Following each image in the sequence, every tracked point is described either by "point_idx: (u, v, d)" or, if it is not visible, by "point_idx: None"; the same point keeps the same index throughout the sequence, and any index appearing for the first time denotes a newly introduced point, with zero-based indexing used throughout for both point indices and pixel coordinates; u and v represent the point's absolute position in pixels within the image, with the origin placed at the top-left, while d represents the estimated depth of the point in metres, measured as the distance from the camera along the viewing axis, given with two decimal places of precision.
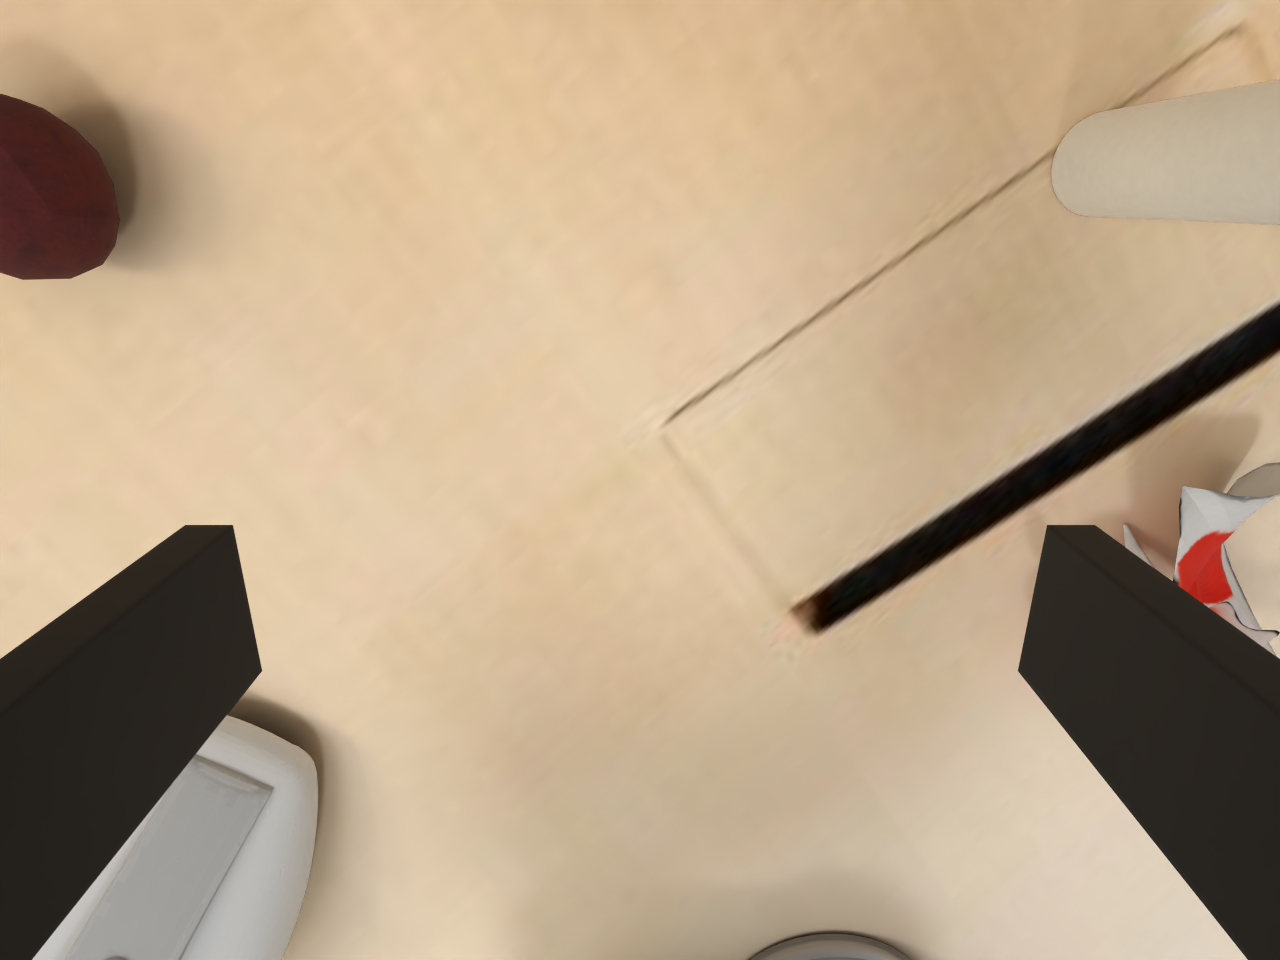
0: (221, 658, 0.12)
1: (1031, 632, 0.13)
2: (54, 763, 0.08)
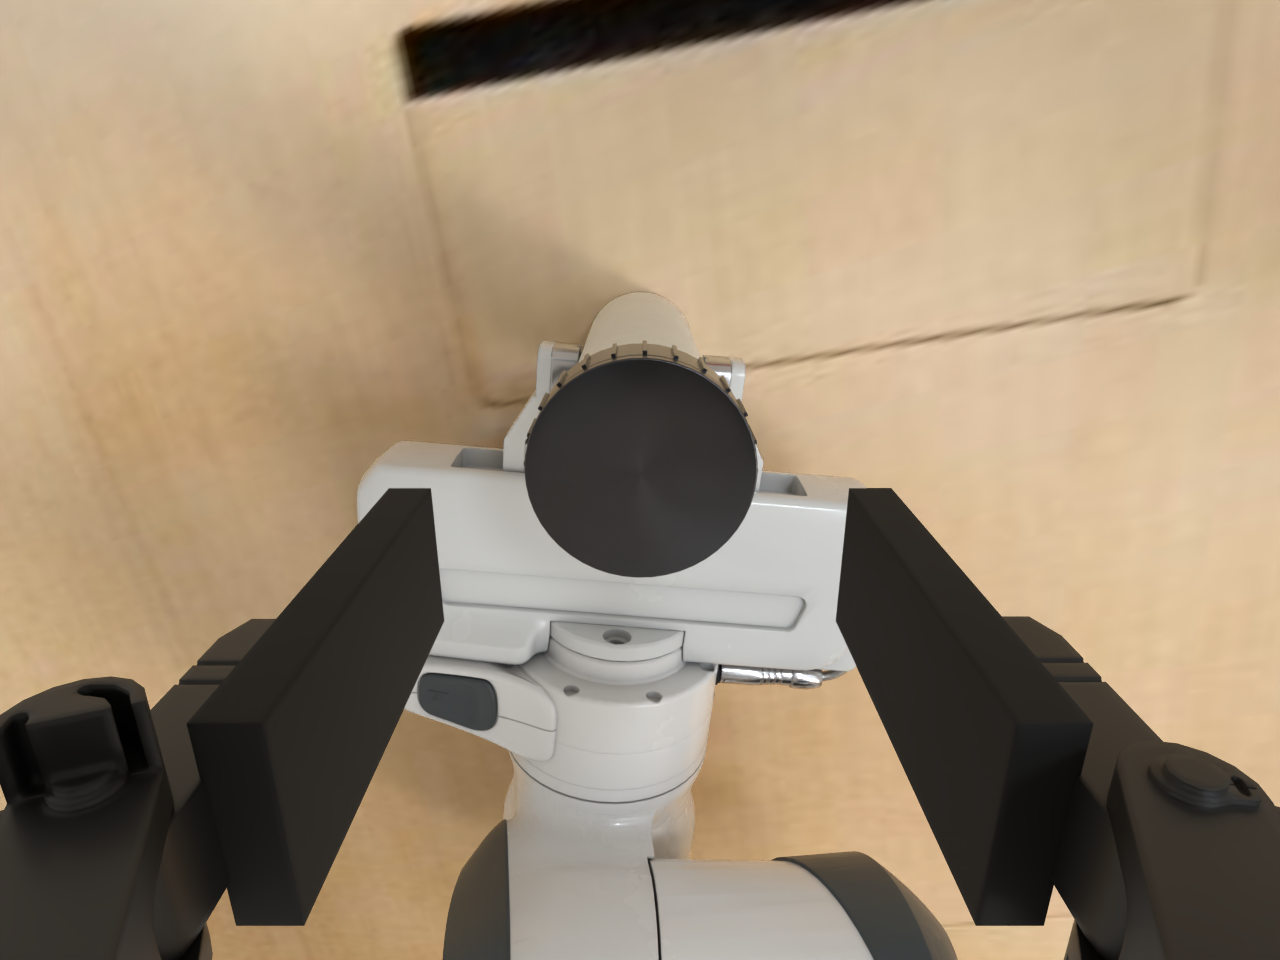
0: (425, 605, 0.13)
1: (841, 585, 0.14)
2: (353, 675, 0.10)
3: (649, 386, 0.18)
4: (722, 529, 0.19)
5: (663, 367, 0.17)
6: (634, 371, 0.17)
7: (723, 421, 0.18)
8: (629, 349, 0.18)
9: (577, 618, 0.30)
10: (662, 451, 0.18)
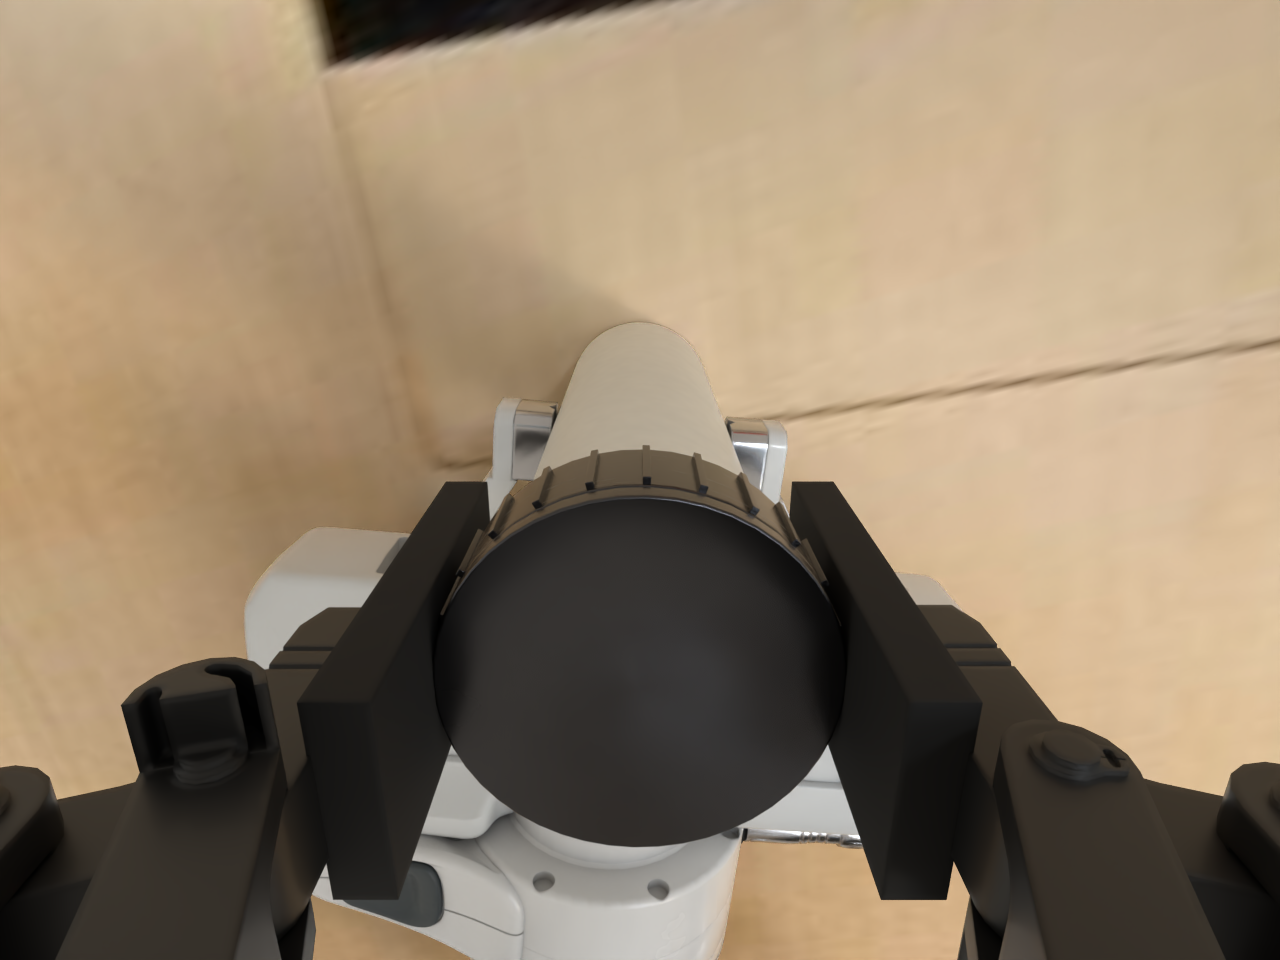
0: None
1: None
2: None
3: (654, 545, 0.10)
4: (781, 775, 0.11)
5: (681, 512, 0.09)
6: (627, 519, 0.09)
7: (788, 603, 0.10)
8: (619, 467, 0.10)
9: None
10: (678, 652, 0.10)
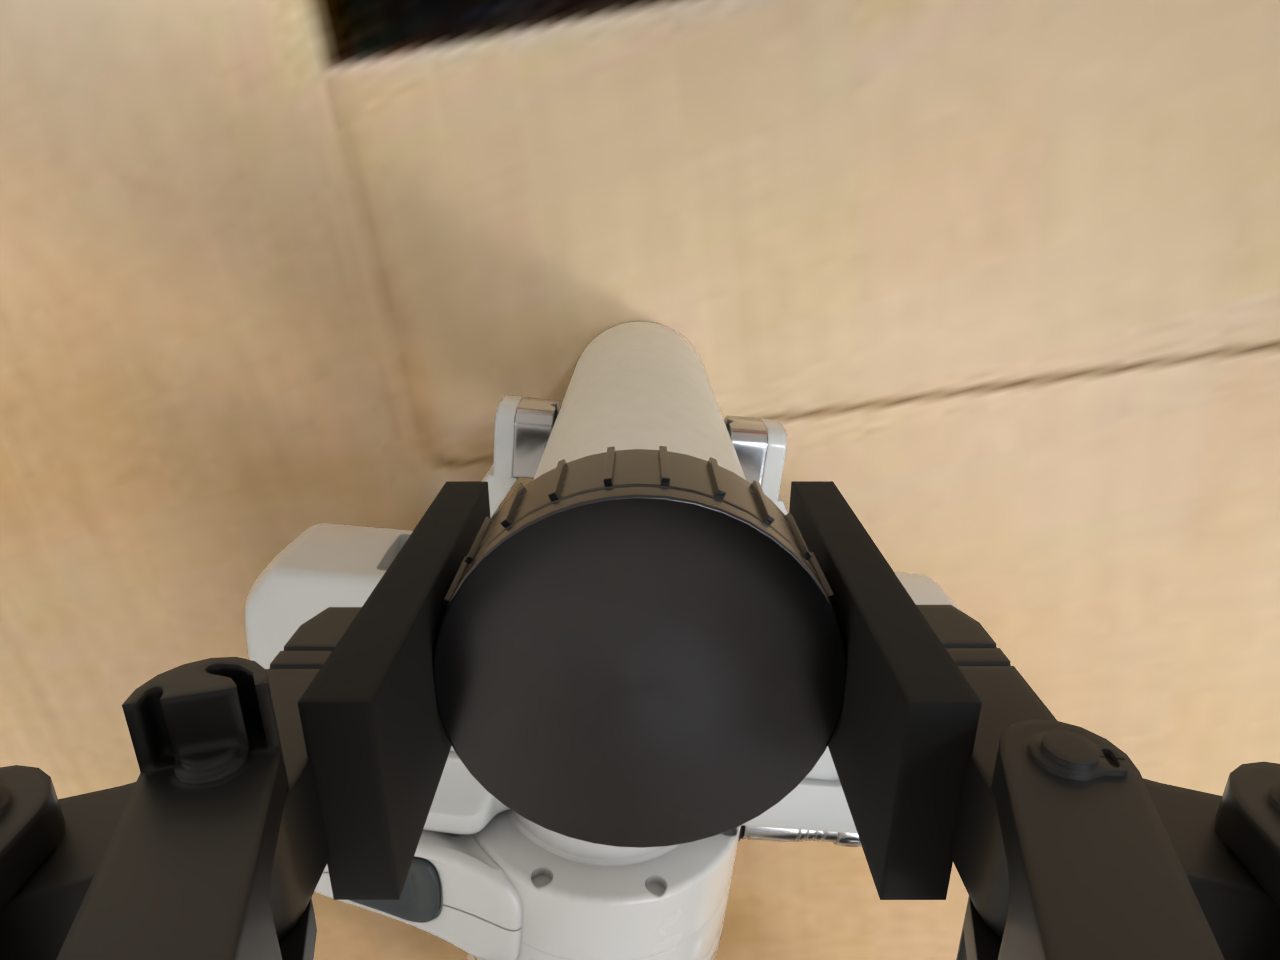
0: None
1: None
2: None
3: (483, 700, 0.10)
4: (726, 537, 0.10)
5: (445, 685, 0.10)
6: (463, 725, 0.11)
7: (512, 578, 0.10)
8: None
9: None
10: (591, 663, 0.10)
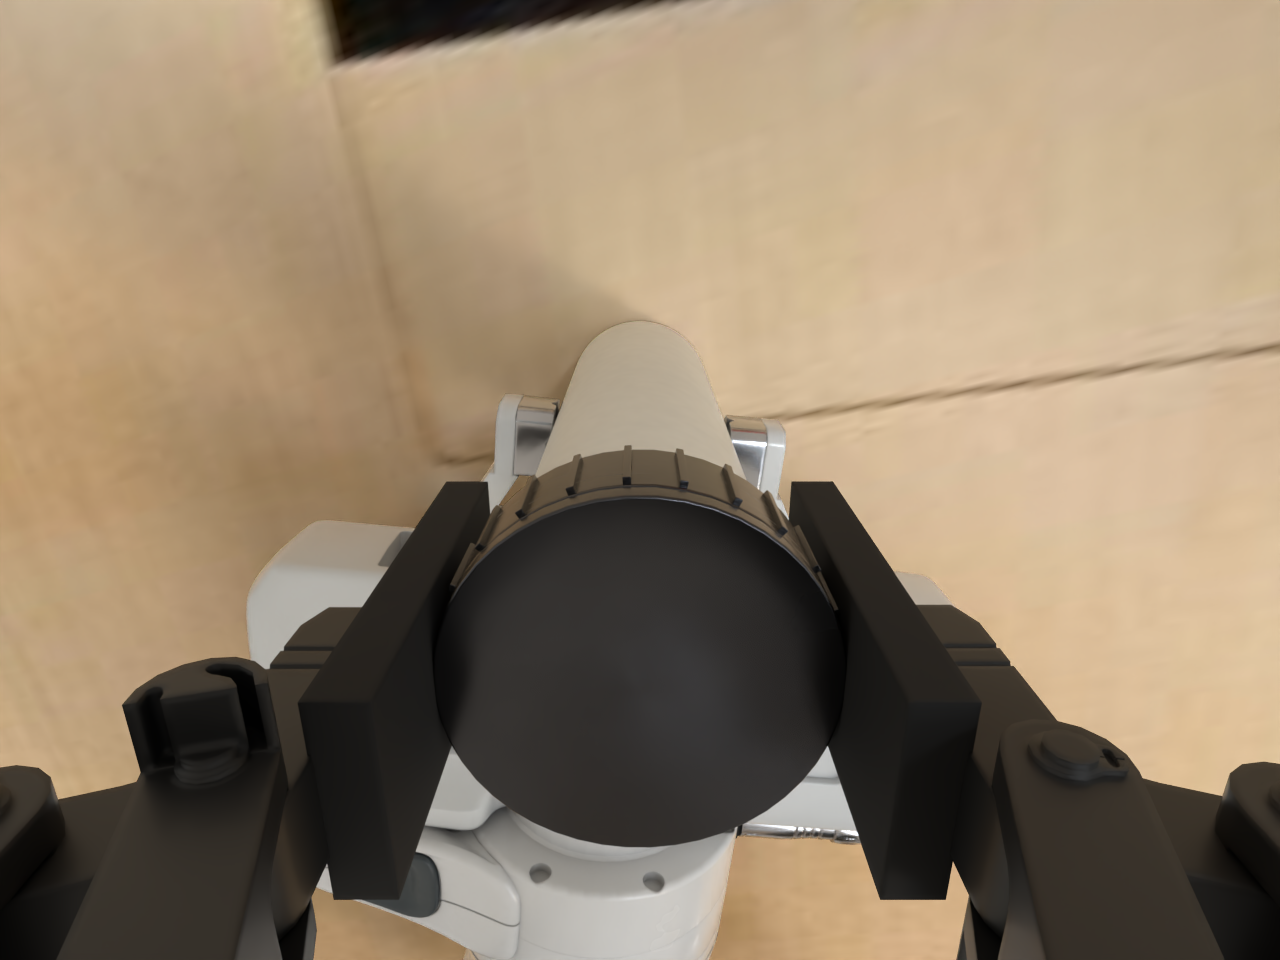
0: None
1: None
2: None
3: (679, 809, 0.11)
4: (458, 645, 0.10)
5: (667, 837, 0.11)
6: (708, 821, 0.11)
7: (545, 800, 0.11)
8: None
9: None
10: (619, 732, 0.11)
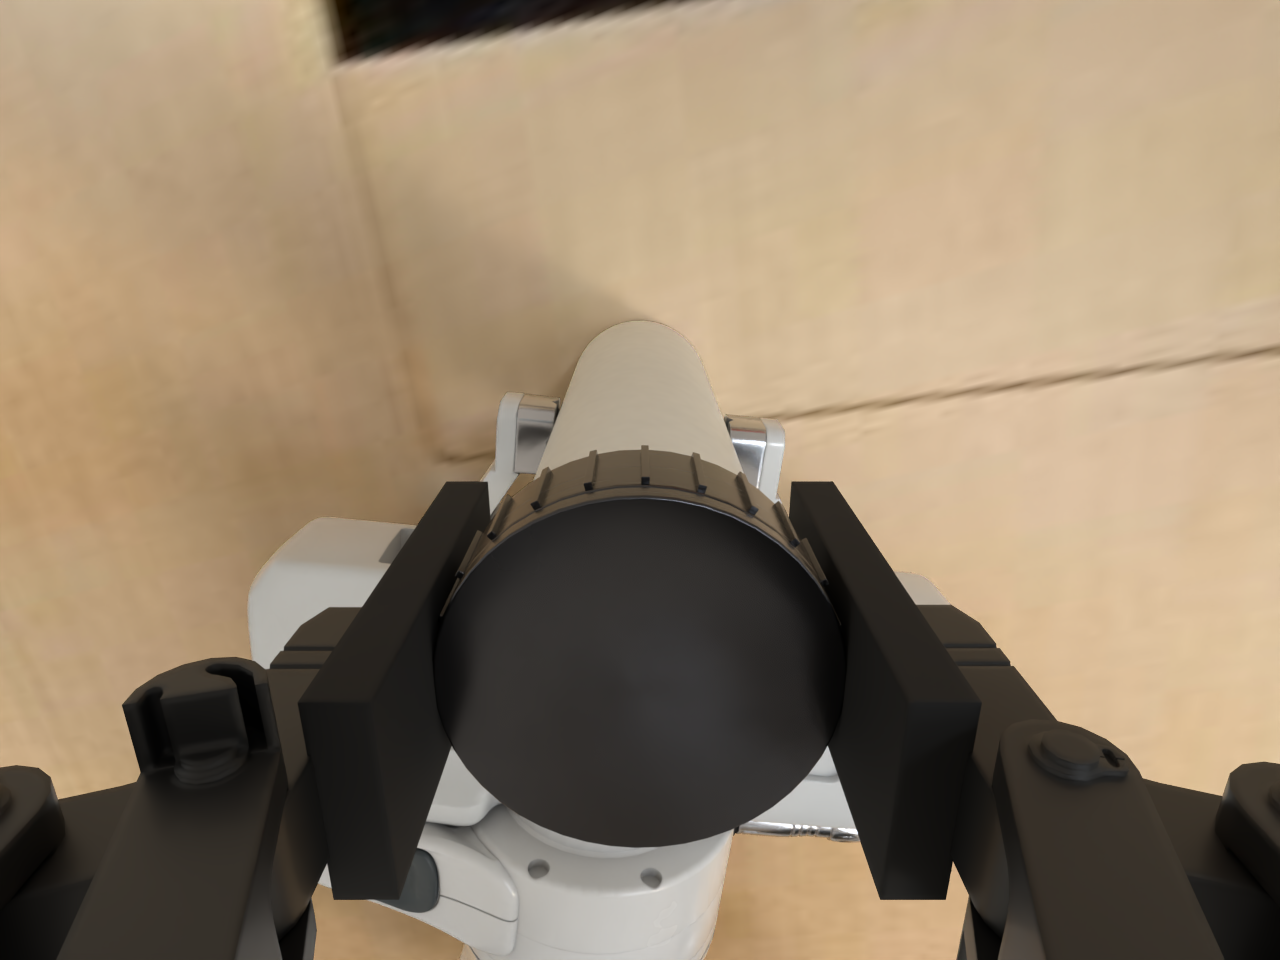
0: None
1: None
2: None
3: (787, 630, 0.10)
4: (623, 831, 0.11)
5: (828, 633, 0.10)
6: (800, 598, 0.10)
7: (790, 750, 0.11)
8: (800, 544, 0.11)
9: None
10: (694, 698, 0.10)
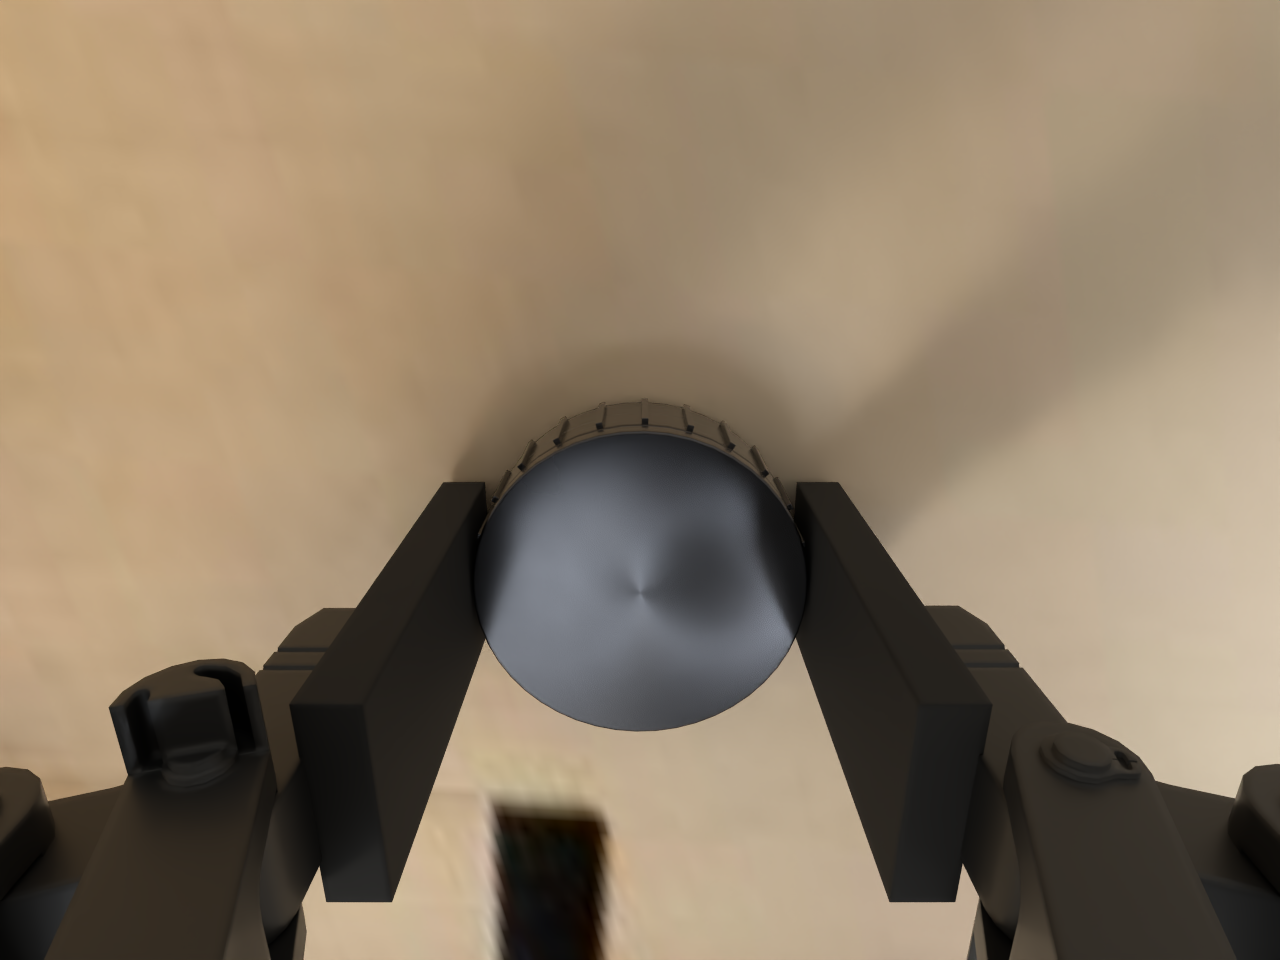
0: None
1: None
2: (428, 662, 0.10)
3: (759, 542, 0.12)
4: (626, 716, 0.14)
5: (792, 545, 0.12)
6: (769, 516, 0.12)
7: (762, 645, 0.13)
8: (771, 478, 0.13)
9: None
10: (684, 601, 0.13)
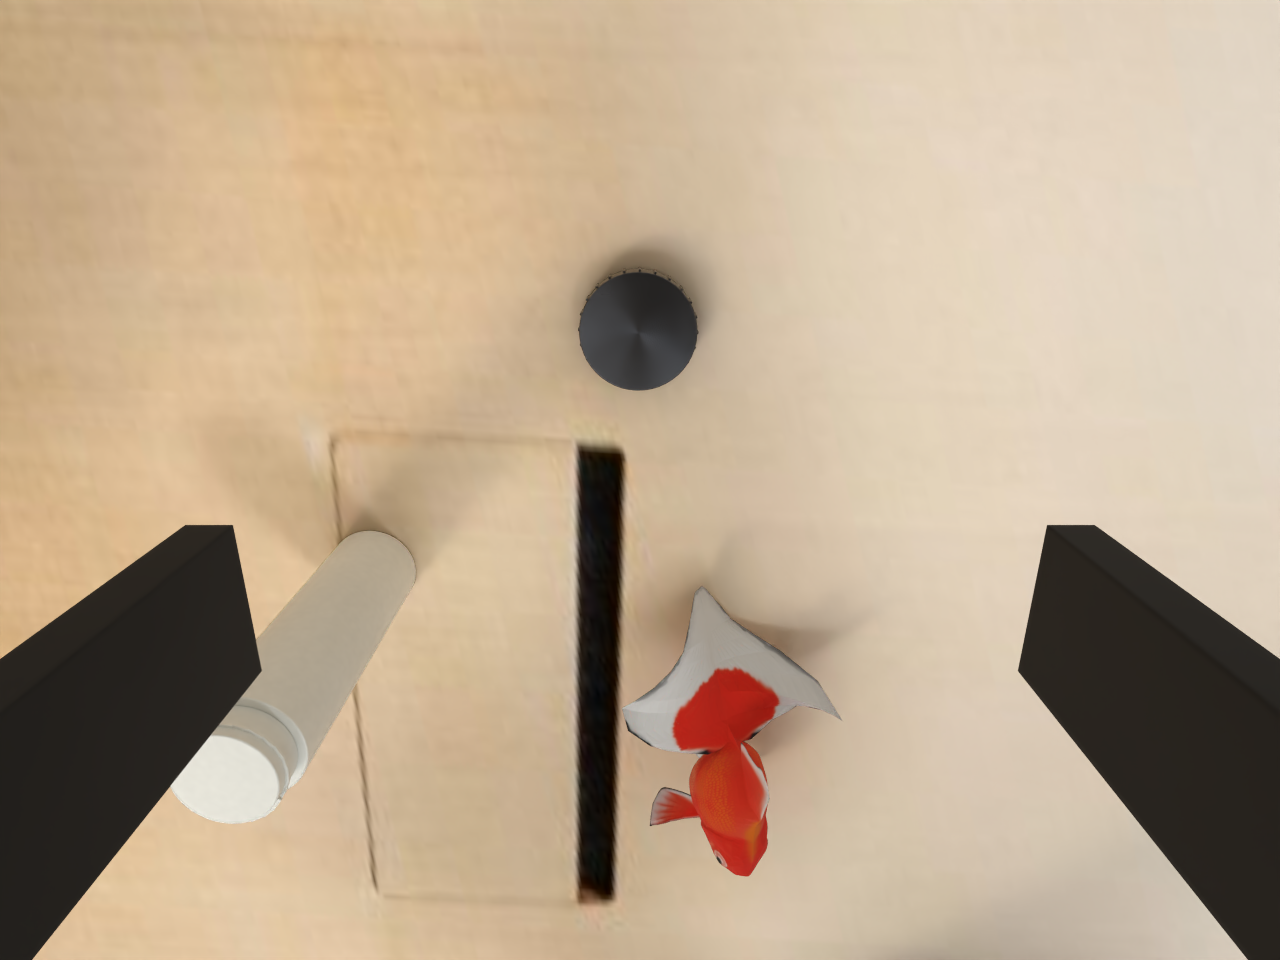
0: (221, 658, 0.12)
1: (1031, 632, 0.13)
2: (54, 763, 0.08)
3: (679, 313, 0.36)
4: (633, 383, 0.37)
5: (691, 314, 0.36)
6: (682, 303, 0.36)
7: (682, 353, 0.37)
8: (685, 294, 0.37)
9: None
10: (653, 336, 0.36)
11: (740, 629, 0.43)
